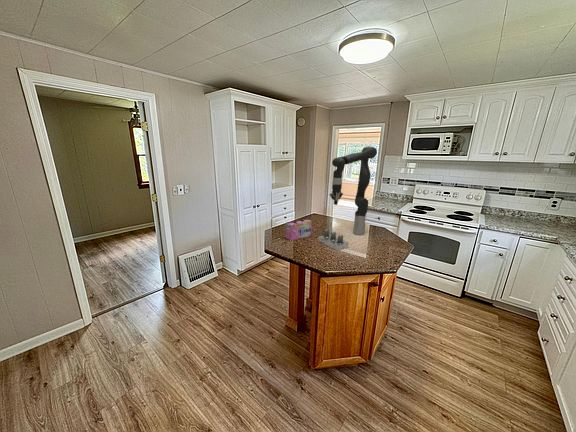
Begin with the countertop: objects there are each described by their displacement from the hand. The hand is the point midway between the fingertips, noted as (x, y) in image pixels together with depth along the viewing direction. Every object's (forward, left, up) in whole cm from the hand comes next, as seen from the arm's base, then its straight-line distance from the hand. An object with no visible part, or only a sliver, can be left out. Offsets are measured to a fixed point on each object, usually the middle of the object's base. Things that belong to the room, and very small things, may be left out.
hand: (335, 204), depth 191 cm
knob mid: (+10, +11, -25) cm, 29 cm away
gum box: (+25, -16, -29) cm, 41 cm away
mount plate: (+10, +11, -29) cm, 33 cm away
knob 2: (+10, +19, -25) cm, 33 cm away
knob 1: (+10, +3, -25) cm, 27 cm away
